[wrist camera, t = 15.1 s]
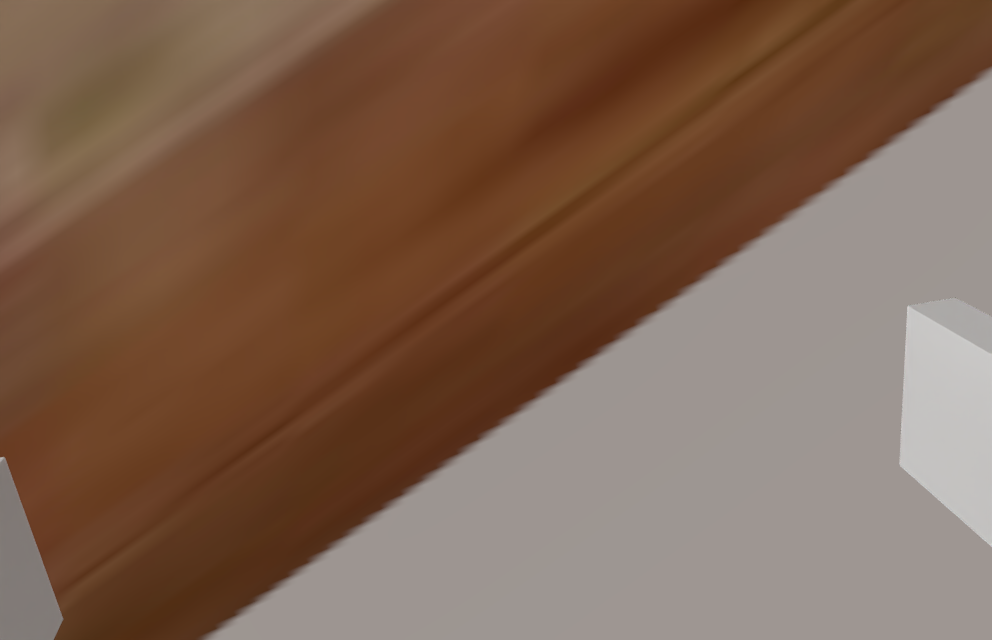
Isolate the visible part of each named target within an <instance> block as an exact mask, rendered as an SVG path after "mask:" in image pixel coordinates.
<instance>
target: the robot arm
mask: <svg viewBox="0 0 992 640" xmlns="http://www.w3.org/2000/svg"><path fill="white" fill-rule="evenodd" d="M900 466H901V467H902V468H903V469H904V470H906V471H907V472H908V473H909V474H910V475H911V476H912V477H913V478H914V479H916V480H917V481H918V482H919V483H920V484H921V485H923V486H924V487H925V488H926V489H927V490H928V491H929V492H930V493H931V494H933V495H934V496H935V497H936V498H937V499H938V500H939V501H940V502H942V503H943V504H944V505H945V506H946V507H947V508H948V509H949V510H951V511H952V512H953V513H954V514H955V515H957V517H959V518H960V519H961V520H962V521H963V522H964V523H965V524H966V525H968V526H969V527H970V528H971V529H972V530H973V531H974V532H976V533H977V534H978V535H979V536H980V537H981V538H982V539H983V540H985V541H986V542H987V543H988V544H989V545H990V546H991V547H992V316H990V315H988V314H986V313H984V312H982V311H980V310H978V309H976V308H974V307H972V306H970V305H969V304H967V303H965V302H963V301H961V300H959V299H957V298H951V299H945V300H939V301H933V302H928V303H921V304H916V305H909V306H908V309H907V327H906V347H905V367H904V388H903V406H902V426H901V446H900ZM62 620H63V617H62V615H61V612H60V609H59V606H58V603H57V601H56V598H55V595H54V592H53V590H52V587H51V584H50V581H49V579H48V576H47V573H46V570H45V567H44V565H43V562H42V559H41V556H40V554H39V551H38V548H37V545H36V543H35V540H34V537H33V534H32V531H31V529H30V526H29V523H28V520H27V518H26V515H25V512H24V509H23V506H22V504H21V501H20V498H19V495H18V493H17V490H16V487H15V484H14V482H13V479H12V476H11V473H10V470H9V468H8V465H7V462H6V459H5V457H1V458H0V640H53V639H54V637H55V635H56V633H57V631H58V629H59V627H60V625H61V623H62Z"/></svg>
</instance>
